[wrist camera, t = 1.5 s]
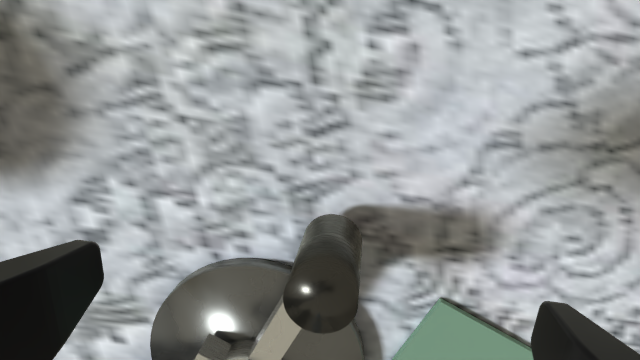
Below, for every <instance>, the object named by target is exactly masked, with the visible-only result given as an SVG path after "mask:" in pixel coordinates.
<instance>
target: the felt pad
mask: <svg viewBox="0 0 640 360" xmlns="http://www.w3.org/2000/svg"><path fill="white" fill-rule="evenodd" d="M392 360H533V355H532V350H531V348H530V347H529V346H527V345H525V344H523V343H521V342H519V341H518V340H516V339H514V338H512V337H510V336H509V335H507V334H505V333H503V332H501V331H500V330H498V329H496V328H494V327H492V326H490V325H489V324H487V323H485V322H483V321H481V320H480V319H478V318H476V317H474V316H472V315H470V314H469V313H467V312H465V311H463V310H461V309H460V308H458V307H456V306H454V305H452V304H450V303H449V302H447V301H445V300H443V299H441V298H440V299H439V300H438V301H437V302H436V304H435V305H434V306H433V307H432V309H431V310H430V311H429V313H428V314H427V315H426V316H425V318H424V319H423V320H422V322H421V323H420V324H419V325H418V327H417V328H416V329H415V330H414V332H413V333H412V334H411V336H410V337H409V338H408V339H407V341H406V342H405V343H404V345H403V346H402V347H401V348H400V350H399V351H398V352H397V353H396V355H395V356H394V357H393V359H392Z"/></svg>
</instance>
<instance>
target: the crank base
mask: <svg viewBox="0 0 640 360" xmlns="http://www.w3.org/2000/svg"><path fill="white" fill-rule="evenodd" d="M291 270H292V267H291V266H288V265H285V264H282V263H279V262H274V261H270V260H265V259H255V258H237V259H230V260H223V261H220V262H216V263H213V264H209V265H207V266H205V267H203V268H200V269H198V270H197V271H195V272H193V273H192V274H190V275H189V276H187V277H186V278H185V279H184V280H183V281H181V282H180V283H179V284H178V285H177V286H176V288H175V289H174V290H173V291H172V292H171V294H170V295H169V296H168V297H167V299H166V300H165V301H164V303H163V304H162V306H161V307H160V309H159V311H158V312H157V315H156V317H155V320H154V323H153V327H152V331H151V342H150V347H151V357H152V360H194V359H195V358H196V356H197V354H198V352H199V350H200V349H201V347H202V345H203V343H204V341H205V340H206V338H207V336H208V334H209V333H210V334H212V335H214V336H216V337H218V338H220V339H221V340H223V341H225V342H227V343H229V344H231V345H232V344H234V343H236V342H239V341H244V340H252V341H255V339H256V338H257V336H258V334H259V333H260V331H261V329H262V328H263V326H264V325H265V323H266V321H267V320H268V318H269V316H270V315H271V313H272V311H273V310H274V308H275V307H276V305H277V303H278V302H279V300H280V298H281V297H282V295H283V293H284V290H285V287H286V284H287V281H288V278H289V275H290V273H291ZM282 360H364V350H363V343H362V339H361V335H360V332H359V330H358V327H357V325H356V322H355V320H354V319H353V320H352V321H351V322H350V324H348V325H347V326H346V327H345V328H343V329H341V330H339V331H336V332H333V333H326V334H320V333H314V332H310V331H307V330H305V329H303V328H301V330H300V331H299V333H298V334H297V336H296V337H295V339H294V341H293V342H292V344H291V345H290V347H289V348H288V350H287V351H286V353H285V354H284V356H283V357H282Z"/></svg>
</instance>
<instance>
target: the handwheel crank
mask: <svg viewBox="0 0 640 360" xmlns="http://www.w3.org/2000/svg"><path fill="white" fill-rule="evenodd" d="M361 252H362V237H361V233H360V231H359V229H358V228H357V226H356V225H355V224H354V223H353V222H352V221H351V220H349V219H348V218H345V217H343V216H340V215H335V214H328V215H323V216H320V217H318V218H316V219H314V220H313V221H312V222H311V223H310V224H309V225H308V227H307V228H306V230H305V233H304V236H303V239H302V242H301V244H300V247H299V250H298V253H297V256H296V259H295V261H294V264H293V267H292V270H291V273H290V275H289V278H288V281H287V284H286V287H285V290H284V293H283V295H282V297H281V298H280V300H279V302H278V303H277V305H276V307H275V308H274V310H273V311H272V313H271V315H270V316H269V318H268V320H267V321H266V323H265V325H264V326H263V328H262V329H261V331H260V333H259V334H258V336H257V338H256V339H255V341H252V340H244V341H239V342H236V343H234V344H232V345H231V344H229V343H227V342H225V341H223V340H221V339H220V338H218V337H216V336H214V335H212V334H210V333H209V334H208V336H207V338H206V340H205V341H204V343H203V345H202V347H201V349H200V350H199V352H198V354H197V356H196V358H195V359H194V360H282V357H283V356H284V354H285V353H286V351H287V350H288V348H289V347H290V345H291V344H292V342H293V341H294V339H295V337H296V336H297V334H298V333H299V331H300V330H301V328H303V329H305V330H307V331H310V332H314V333H320V334H326V333H333V332H336V331H339V330H341V329H343V328H345V327H346V326H347V325H348V324H350V322H351V321H352V320H353V319H354V317H355V315H356V312H357V308H358V295H359V281H360V267H361Z"/></svg>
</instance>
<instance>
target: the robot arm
mask: <svg viewBox="0 0 640 360" xmlns="http://www.w3.org/2000/svg"><path fill="white" fill-rule="evenodd" d="M103 280H104V272H103V266H102V259H101V253H100V248H99V246H98V244H97V243H95V242H92V241H84V240H75V241H71V242H68V243H64V244H61V245H57V246H54V247H50V248H47V249H44V250H40V251H37V252H33V253H30V254H26V255H23V256H19V257H16V258H13V259H9V260H6V261H2V262H0V360H53V359H54V357H55V356H56V355H57V353H58V352H59V351H60V349H61V348H62V346H63V345H64V344H65V342H66V341H67V339H68V338H69V336H70V335H71V333H72V332H73V330H74V328H75V327H76V325H77V324H78V322H79V321H80V319H81V317H82V316H83V314H84V313H85V311H86V310H87V308H88V307H89V305H90V303H91V302H92V300H93V299H94V297H95V296H96V294H97V293H98V291H99V289H100V288H101V286H102V283H103ZM531 350H532V355H533V360H640V354H638V353H637V352H635V351H634V350H633V349H631V348H630V347H628V346H627V345H625V344H624V343H623V342H621V341H620V340H618V339H617V338H615V337H614V336H612V335H611V334H610V333H608V332H607V331H605V330H604V329H602V328H601V327H600V326H598V325H597V324H595V323H594V322H592V321H591V320H590V319H588V318H587V317H585V316H584V315H582V314H581V313H579V312H578V311H577V310H575V309H574V308H572V307H571V306H569V305H568V304H565V303H558V302H551V301H545V302H543V303H542V304H541V306H540V308H539V311H538V315H537V318H536V322H535V325H534V329H533V333H532V337H531Z"/></svg>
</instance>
